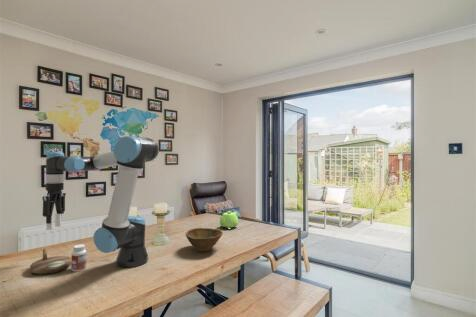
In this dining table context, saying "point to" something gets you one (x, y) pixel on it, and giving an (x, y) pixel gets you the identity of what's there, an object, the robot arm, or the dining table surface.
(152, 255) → the dining table surface
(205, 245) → the bowl
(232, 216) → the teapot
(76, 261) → the pill bottle
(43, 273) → the susan base
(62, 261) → the disc
